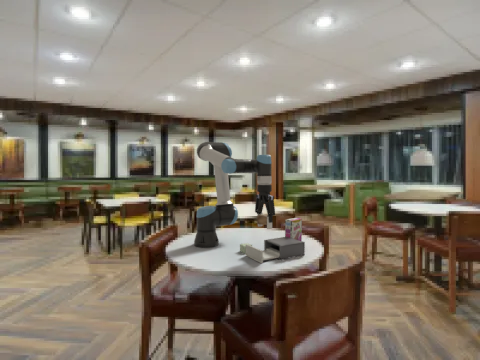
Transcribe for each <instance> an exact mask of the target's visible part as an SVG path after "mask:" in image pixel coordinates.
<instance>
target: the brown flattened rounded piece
mask: <svg viewBox="0 0 480 360" xmlns="http://www.w3.org/2000/svg"><path fill="white" fill-rule="evenodd" d="M267 215H268V214H263V215H258V214H256V224H257V225H258V224H261V225H264V226H265V225H266V226H267Z"/></svg>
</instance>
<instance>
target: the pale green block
mask: <svg viewBox="0 0 480 360" xmlns="http://www.w3.org/2000/svg"><path fill="white" fill-rule="evenodd" d="M246 244H248V245H250V246H253V244H250V243H248V242H246V243H240V244H239V252H241V253H243V254H246Z"/></svg>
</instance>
